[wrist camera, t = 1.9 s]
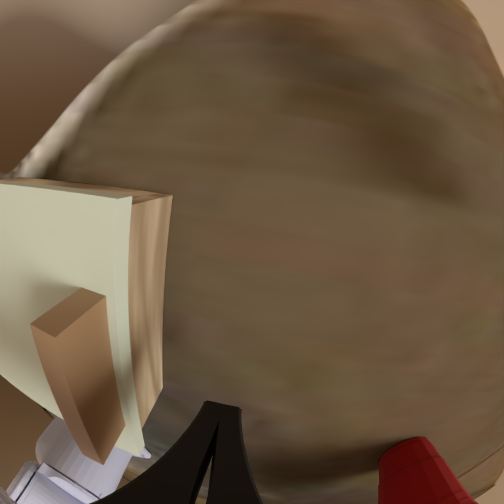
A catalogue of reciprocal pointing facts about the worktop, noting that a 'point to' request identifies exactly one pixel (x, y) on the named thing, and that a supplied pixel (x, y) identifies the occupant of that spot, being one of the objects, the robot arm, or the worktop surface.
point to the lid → (69, 310)
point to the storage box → (141, 284)
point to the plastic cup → (418, 476)
